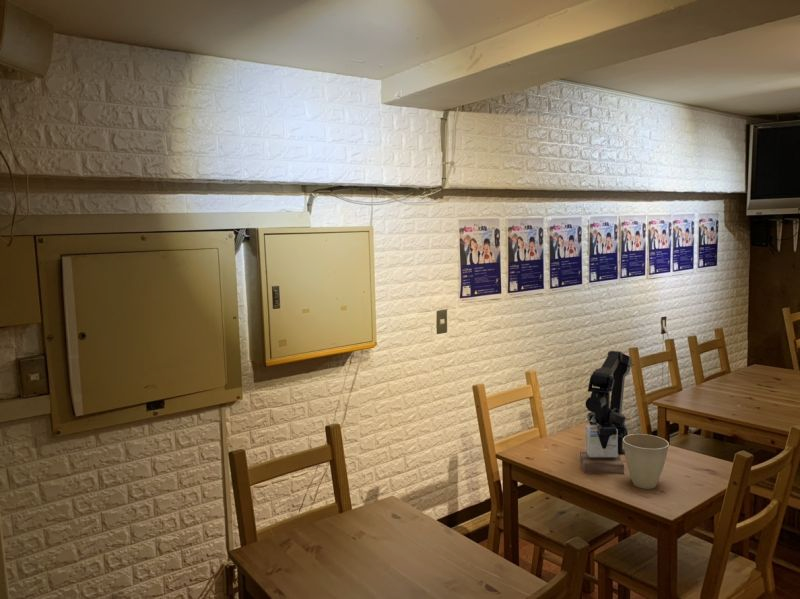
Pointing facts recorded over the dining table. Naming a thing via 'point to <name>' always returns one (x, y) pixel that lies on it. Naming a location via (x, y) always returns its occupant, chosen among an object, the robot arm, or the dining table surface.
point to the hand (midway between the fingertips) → (601, 445)
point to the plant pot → (645, 458)
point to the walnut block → (601, 464)
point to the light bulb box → (595, 446)
